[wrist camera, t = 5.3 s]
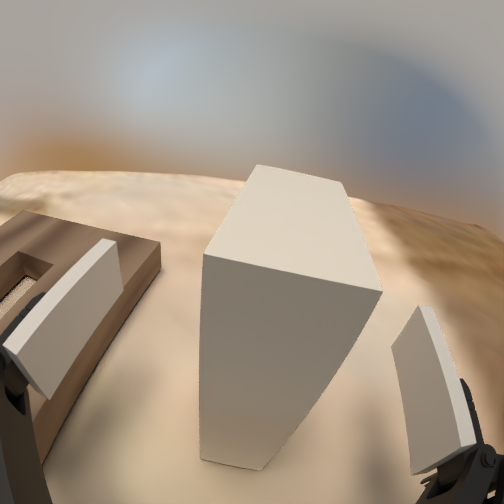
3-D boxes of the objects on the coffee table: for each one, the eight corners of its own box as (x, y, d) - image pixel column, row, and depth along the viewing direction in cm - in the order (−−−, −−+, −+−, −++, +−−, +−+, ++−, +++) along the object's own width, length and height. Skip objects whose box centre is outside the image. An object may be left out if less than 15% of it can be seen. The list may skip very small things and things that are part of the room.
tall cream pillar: (274, 379, 16) (341, 182, 9) (260, 470, 11) (383, 290, 4) (225, 369, 16) (257, 164, 10) (200, 458, 11) (203, 253, 4)
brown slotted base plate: (161, 267, 23) (160, 242, 22) (21, 512, 5) (-7, 503, 3) (27, 230, 24) (23, 210, 23) (-99, 359, 6) (-113, 338, 4)
